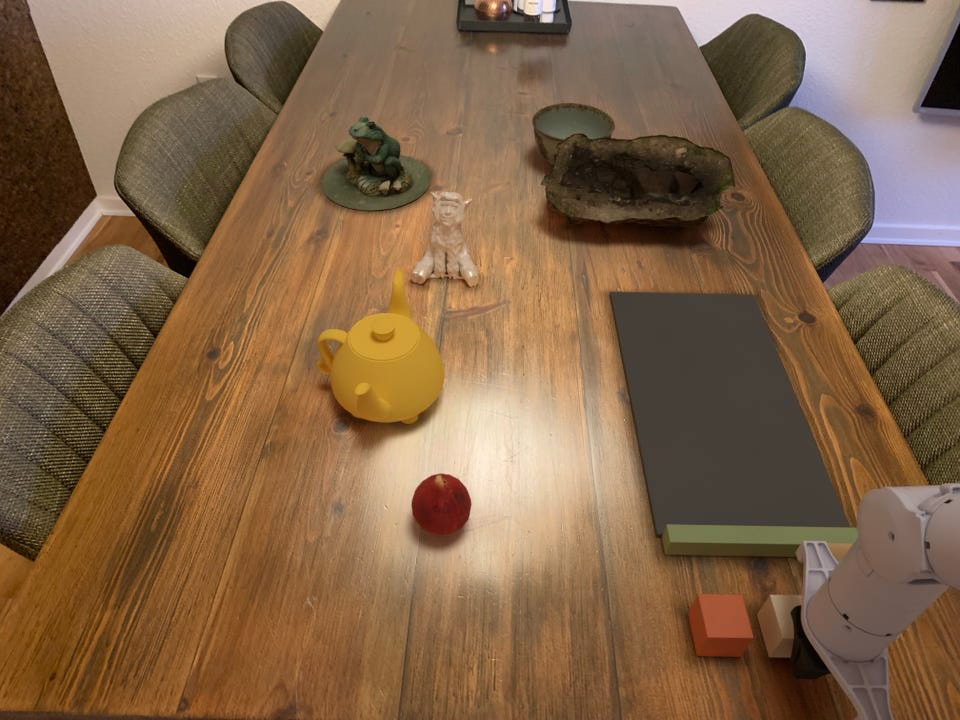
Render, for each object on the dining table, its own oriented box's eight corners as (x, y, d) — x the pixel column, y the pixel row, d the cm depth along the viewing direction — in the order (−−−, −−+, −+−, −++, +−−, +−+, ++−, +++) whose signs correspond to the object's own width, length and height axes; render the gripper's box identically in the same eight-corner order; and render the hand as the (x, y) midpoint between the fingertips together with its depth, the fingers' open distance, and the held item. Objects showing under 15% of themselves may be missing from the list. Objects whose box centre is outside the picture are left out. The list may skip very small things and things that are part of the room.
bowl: (613, 152, 126) (620, 109, 121) (601, 191, 117) (609, 146, 112) (538, 140, 129) (542, 97, 123) (521, 177, 120) (524, 133, 114)
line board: (859, 558, 71) (870, 545, 69) (659, 555, 70) (665, 541, 69) (752, 297, 99) (758, 283, 97) (609, 294, 99) (612, 280, 97)
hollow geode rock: (709, 253, 114) (725, 160, 113) (729, 242, 101) (748, 136, 100) (535, 227, 116) (551, 135, 116) (534, 212, 103) (552, 109, 103)
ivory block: (812, 658, 64) (829, 639, 61) (768, 657, 63) (783, 638, 61) (799, 615, 66) (814, 595, 64) (756, 614, 66) (769, 594, 63)
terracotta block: (740, 657, 63) (754, 638, 61) (696, 656, 63) (707, 637, 61) (729, 614, 66) (742, 594, 63) (687, 613, 66) (697, 593, 63)
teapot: (343, 331, 92) (332, 260, 84) (456, 343, 91) (456, 272, 83) (295, 454, 78) (277, 383, 70) (429, 470, 77) (425, 400, 69)
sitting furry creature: (410, 285, 99) (406, 212, 90) (416, 248, 105) (412, 176, 96) (478, 288, 99) (480, 215, 90) (480, 251, 105) (482, 179, 96)
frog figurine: (302, 173, 119) (291, 107, 110) (394, 143, 127) (390, 79, 118) (355, 224, 109) (347, 155, 101) (451, 188, 117) (451, 122, 108)
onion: (481, 517, 73) (483, 471, 67) (449, 560, 69) (449, 516, 64) (434, 491, 75) (432, 445, 69) (402, 532, 71) (397, 486, 66)
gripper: (971, 703, 46) (882, 765, 56) (884, 512, 57) (821, 592, 66) (864, 702, 46) (794, 764, 56) (796, 511, 56) (746, 591, 66)
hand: (803, 671), depth 61 cm, fingers closed
